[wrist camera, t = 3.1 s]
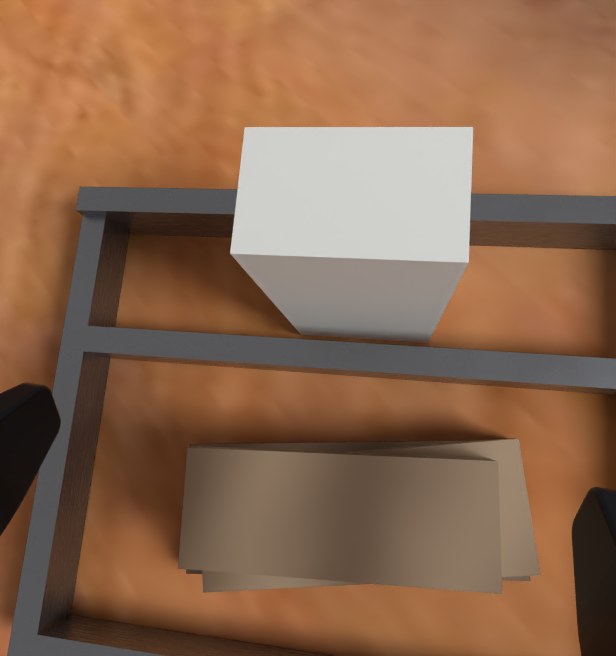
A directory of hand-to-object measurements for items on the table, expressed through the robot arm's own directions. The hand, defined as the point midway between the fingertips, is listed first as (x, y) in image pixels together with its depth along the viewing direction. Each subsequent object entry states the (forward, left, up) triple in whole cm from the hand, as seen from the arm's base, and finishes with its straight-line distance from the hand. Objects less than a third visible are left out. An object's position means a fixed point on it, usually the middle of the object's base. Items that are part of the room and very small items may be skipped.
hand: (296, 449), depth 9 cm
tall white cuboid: (0, +5, -12) cm, 13 cm away
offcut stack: (0, -2, -12) cm, 12 cm away
